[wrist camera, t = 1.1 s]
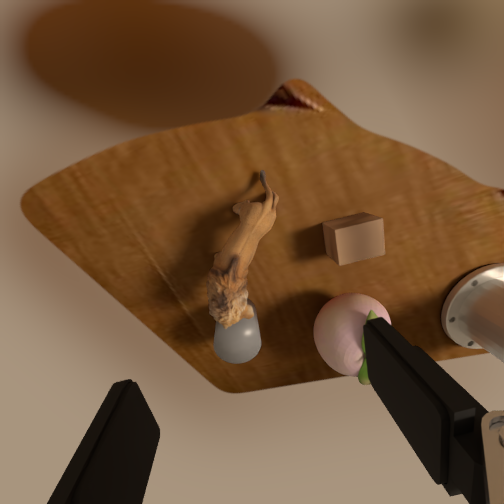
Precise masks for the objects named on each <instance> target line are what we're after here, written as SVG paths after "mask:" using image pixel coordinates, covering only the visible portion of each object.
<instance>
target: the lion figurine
mask: <svg viewBox="0 0 504 504" xmlns="http://www.w3.org/2000/svg"><path fill="white" fill-rule="evenodd" d="M260 181H261V183H262V185H263V187H264V189H265V192H266V200H265V202H263V203H259V202H252V203H250V201H249V200H246V201H244V202H240V203H237V204H235V205H234V206H233V212H234V213H236V214H238V215H240V220H241V223H240V225H239V227H238V228H237V229H236V230H235V231H234V232H233V233H232V235H231V236H230V238H229V239H228V241H227V243H226V244H225V246H224V248H223V250H222V252H218V253H216V254H215V255H214V257H215V261H214V266H213V267H212V268H211V269H210V271H209V273H208V281H207V296H208V298H209V299H208V301H209V309H210V311H209V313H210V315H212V316H213V317H214V319H215V320H216V321H218V322H219V323H220V324H222V325H223V327H224V329H227V328H228V327H230V326H231V325H232V324H235V323H236V322H239V320H241V319H242V318H246V319H251V318H252V317H253V316H254V312H253V308H252V306H251V305H249V304H248V303H247V297H248V291H247V290H246V288H247V277H246V276H247V274H248V266H249V264H250V262H251V261H252V259H253V257H254V254H255V252H256V248H257V245H258V242H259V240H260V239H261V237H263V236H264V235H265V234H266V233H267V232H268V231H270V229H271V228H272V226H273V224H274V221H275V219H276V205H277V202H278V199H279V198H278V195H277V194H276V193H275V192H273V191H271V189H270V187H269V186H268V184H267V182H266V176H265V172H264V170H261V172H260Z"/></svg>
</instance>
